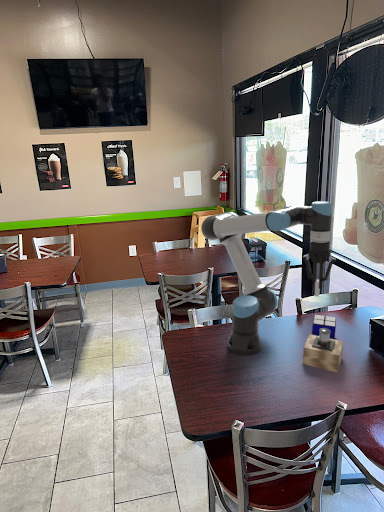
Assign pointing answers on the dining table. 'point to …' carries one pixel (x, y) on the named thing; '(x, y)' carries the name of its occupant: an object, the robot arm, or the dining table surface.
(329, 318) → the puzzle cube
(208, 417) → the dining table surface
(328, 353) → the socket block
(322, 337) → the peg
